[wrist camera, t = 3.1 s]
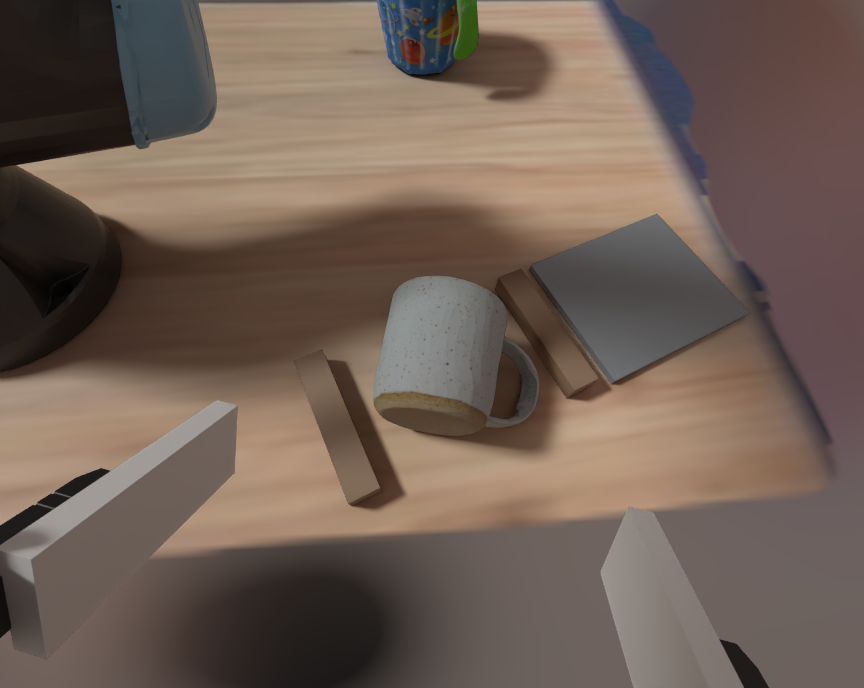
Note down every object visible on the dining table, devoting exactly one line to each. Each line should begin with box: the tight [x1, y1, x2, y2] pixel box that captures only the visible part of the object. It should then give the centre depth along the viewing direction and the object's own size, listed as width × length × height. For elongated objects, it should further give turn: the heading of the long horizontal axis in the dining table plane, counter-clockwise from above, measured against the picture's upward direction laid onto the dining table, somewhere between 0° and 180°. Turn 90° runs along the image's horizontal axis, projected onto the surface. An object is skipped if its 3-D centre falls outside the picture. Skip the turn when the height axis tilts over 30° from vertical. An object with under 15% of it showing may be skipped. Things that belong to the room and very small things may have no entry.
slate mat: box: [529, 214, 750, 384], centre depth 33 cm, size 11×13×1 cm
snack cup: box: [377, 0, 479, 75], centre depth 42 cm, size 16×10×10 cm
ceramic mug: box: [373, 276, 539, 436], centre depth 26 cm, size 11×8×8 cm
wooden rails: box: [294, 269, 599, 506], centre depth 29 cm, size 10×18×2 cm, turn 116°
